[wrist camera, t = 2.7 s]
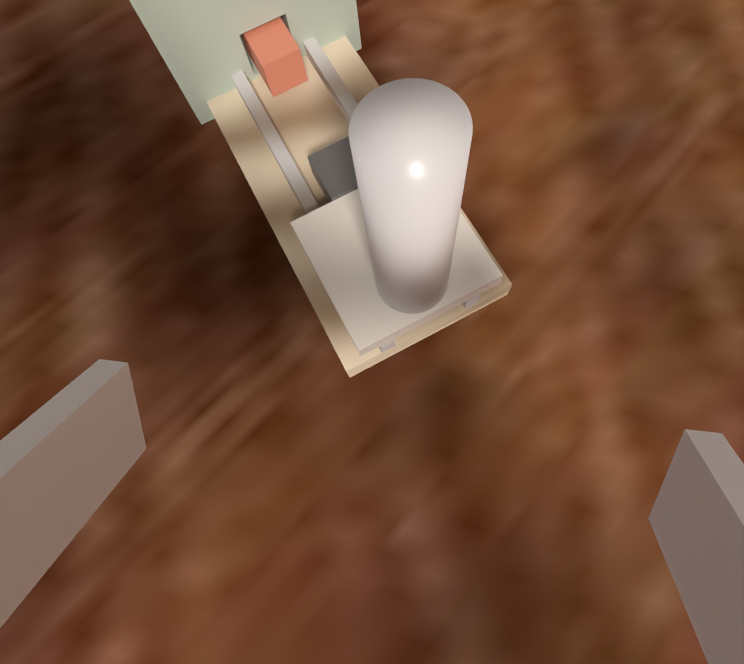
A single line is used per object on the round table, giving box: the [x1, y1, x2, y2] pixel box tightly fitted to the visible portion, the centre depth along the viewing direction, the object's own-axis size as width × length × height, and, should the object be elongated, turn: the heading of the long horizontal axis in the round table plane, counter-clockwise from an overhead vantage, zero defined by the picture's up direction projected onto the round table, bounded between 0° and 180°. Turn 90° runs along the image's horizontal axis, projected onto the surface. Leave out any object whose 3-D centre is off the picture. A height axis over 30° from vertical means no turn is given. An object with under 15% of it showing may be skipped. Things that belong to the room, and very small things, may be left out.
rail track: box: [207, 36, 512, 377], centre depth 30 cm, size 20×10×2 cm, turn 28°
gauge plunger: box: [241, 16, 308, 97], centre depth 31 cm, size 4×2×2 cm, turn 28°
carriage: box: [290, 78, 503, 356], centre depth 22 cm, size 11×8×12 cm
